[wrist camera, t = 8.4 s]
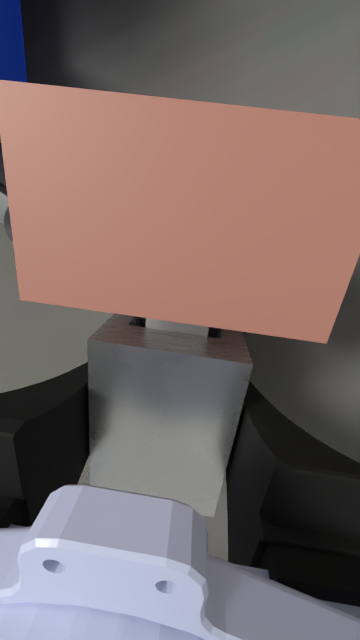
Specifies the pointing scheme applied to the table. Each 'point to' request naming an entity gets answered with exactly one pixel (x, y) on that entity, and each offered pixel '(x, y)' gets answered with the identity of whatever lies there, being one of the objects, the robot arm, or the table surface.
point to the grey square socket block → (164, 409)
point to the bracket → (12, 42)
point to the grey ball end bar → (5, 211)
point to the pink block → (181, 209)
